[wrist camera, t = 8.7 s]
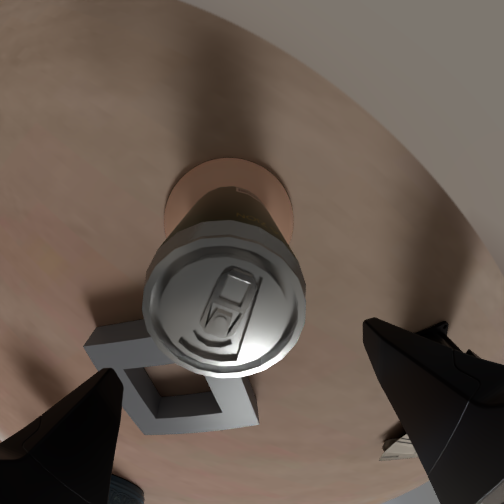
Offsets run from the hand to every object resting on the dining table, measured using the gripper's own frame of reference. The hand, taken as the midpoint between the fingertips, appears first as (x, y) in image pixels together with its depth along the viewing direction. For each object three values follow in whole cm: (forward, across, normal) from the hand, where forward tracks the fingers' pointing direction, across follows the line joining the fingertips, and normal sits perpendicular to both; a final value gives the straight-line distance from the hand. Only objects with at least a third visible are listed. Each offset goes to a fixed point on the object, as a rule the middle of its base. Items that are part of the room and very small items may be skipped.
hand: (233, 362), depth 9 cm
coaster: (+12, 0, -2) cm, 12 cm away
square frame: (+12, +8, +10) cm, 18 cm away
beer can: (+12, 0, -2) cm, 12 cm away
